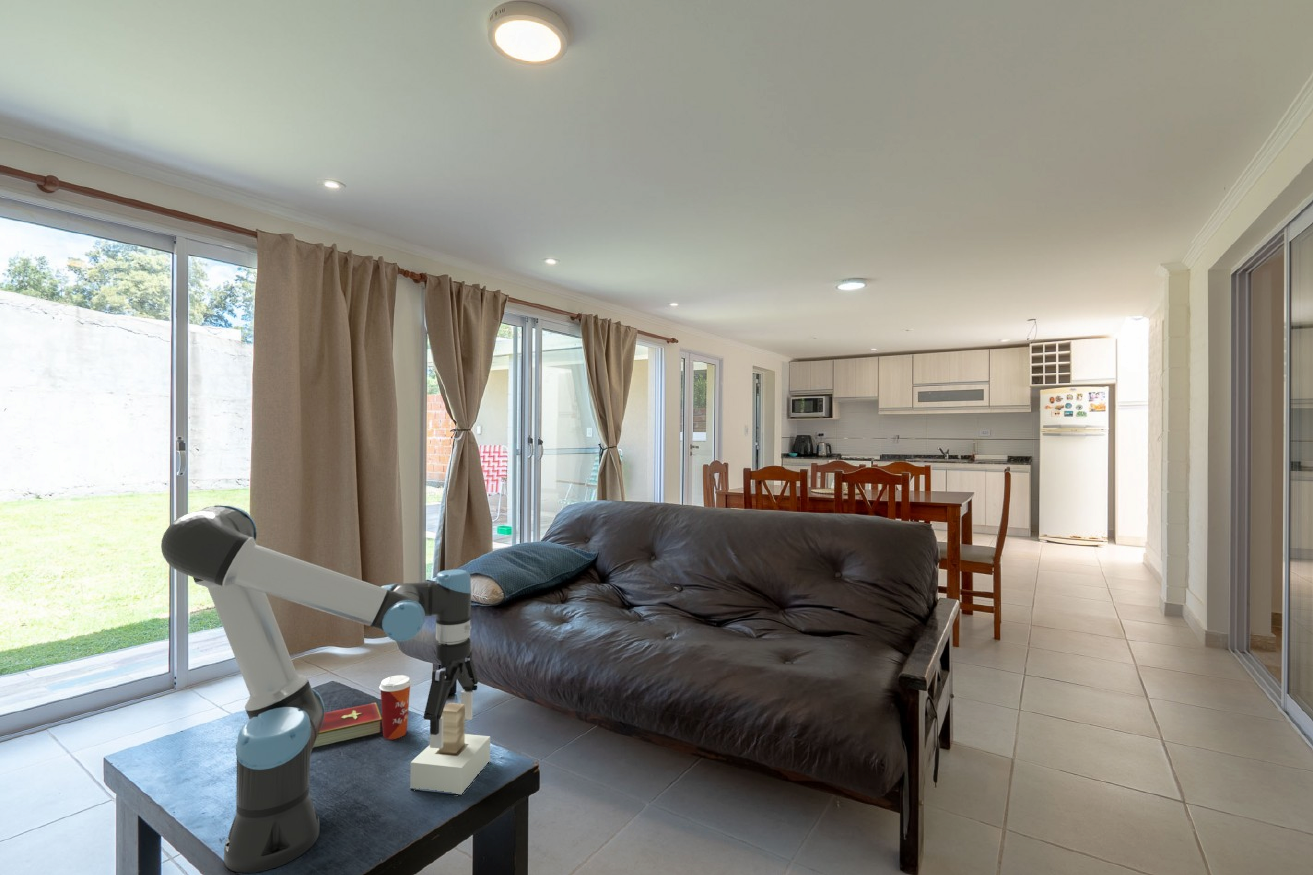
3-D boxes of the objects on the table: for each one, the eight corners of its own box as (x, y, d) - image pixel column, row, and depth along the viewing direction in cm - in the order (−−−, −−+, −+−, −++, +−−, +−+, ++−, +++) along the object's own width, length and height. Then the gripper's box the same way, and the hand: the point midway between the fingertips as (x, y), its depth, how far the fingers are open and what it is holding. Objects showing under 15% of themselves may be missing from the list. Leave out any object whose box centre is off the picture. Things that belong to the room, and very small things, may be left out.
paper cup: (403, 741, 152) (403, 686, 152) (373, 741, 152) (373, 685, 152) (416, 727, 160) (416, 674, 160) (387, 726, 160) (388, 673, 160)
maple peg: (455, 774, 135) (456, 711, 135) (439, 772, 136) (439, 710, 136) (464, 764, 139) (465, 703, 139) (448, 762, 140) (448, 702, 140)
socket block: (461, 795, 130) (461, 767, 130) (410, 789, 132) (410, 762, 132) (490, 761, 143) (490, 736, 143) (443, 756, 145) (443, 731, 145)
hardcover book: (287, 734, 156) (287, 718, 156) (375, 716, 167) (376, 700, 167) (287, 755, 146) (287, 738, 146) (381, 734, 157) (382, 717, 157)
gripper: (439, 659, 125) (438, 762, 125) (492, 623, 149) (491, 709, 149) (406, 657, 126) (405, 759, 126) (464, 621, 150) (463, 707, 150)
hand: (452, 732), depth 137 cm, fingers open, 13 cm apart
